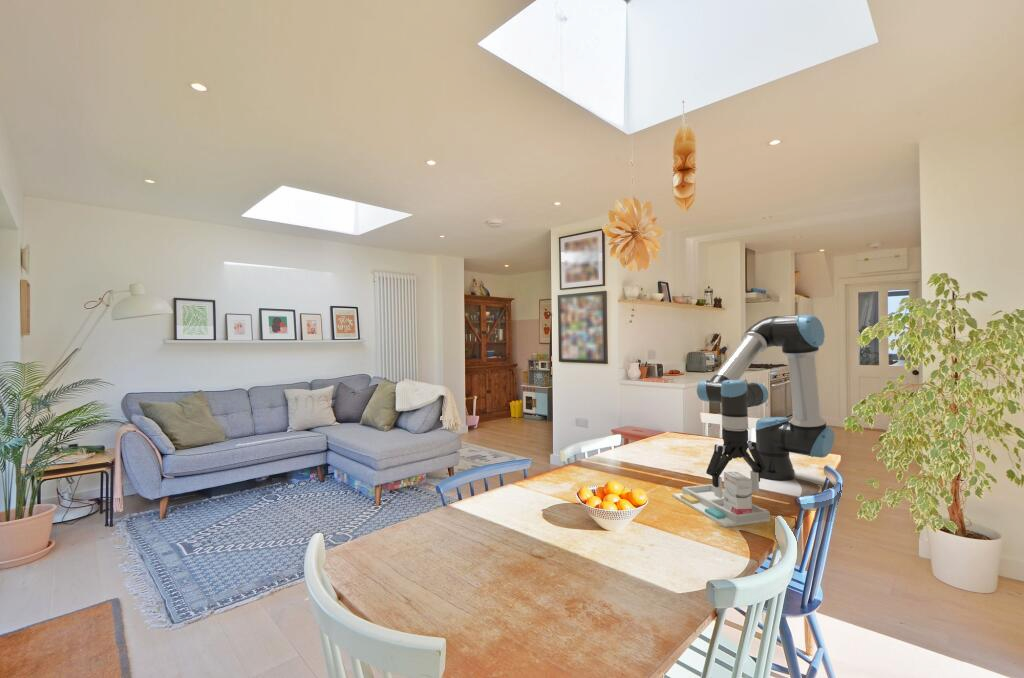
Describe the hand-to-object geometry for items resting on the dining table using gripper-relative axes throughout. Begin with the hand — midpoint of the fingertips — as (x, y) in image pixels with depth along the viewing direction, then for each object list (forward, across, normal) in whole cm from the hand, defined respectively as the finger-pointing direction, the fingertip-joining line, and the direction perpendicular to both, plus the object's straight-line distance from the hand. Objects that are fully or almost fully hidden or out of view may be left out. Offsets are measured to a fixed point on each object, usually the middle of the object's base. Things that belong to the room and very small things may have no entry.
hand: (736, 494), depth 149 cm
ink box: (+6, 0, 0) cm, 6 cm away
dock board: (+6, +2, -7) cm, 10 cm away
